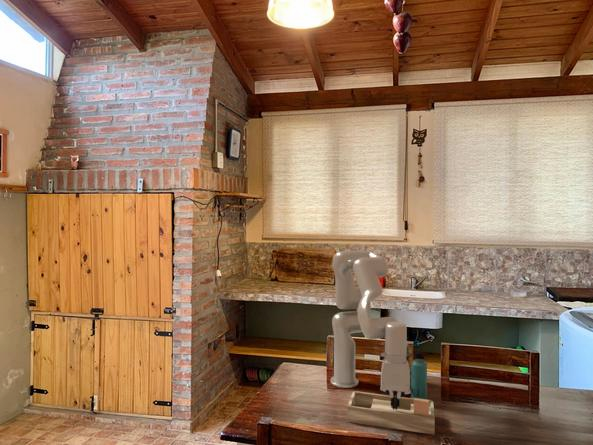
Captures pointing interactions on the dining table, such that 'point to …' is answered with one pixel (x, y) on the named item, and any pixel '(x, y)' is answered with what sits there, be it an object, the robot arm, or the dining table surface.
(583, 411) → the dining table surface
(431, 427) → the light wood long tray
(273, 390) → the dining table surface
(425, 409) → the block
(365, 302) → the robot arm
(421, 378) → the beverage bottle
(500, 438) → the dining table surface
